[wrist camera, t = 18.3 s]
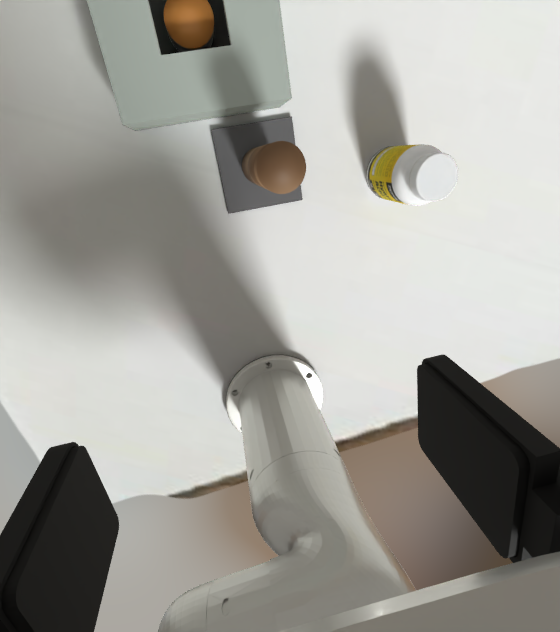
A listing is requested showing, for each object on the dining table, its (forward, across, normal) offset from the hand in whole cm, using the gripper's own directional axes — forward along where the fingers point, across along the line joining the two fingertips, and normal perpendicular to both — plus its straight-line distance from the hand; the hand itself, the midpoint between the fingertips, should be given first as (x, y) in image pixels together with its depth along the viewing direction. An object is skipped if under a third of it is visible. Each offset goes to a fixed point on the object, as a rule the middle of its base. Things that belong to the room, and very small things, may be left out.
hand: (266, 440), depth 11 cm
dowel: (+33, -5, -6) cm, 34 cm away
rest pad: (+33, -5, -6) cm, 34 cm away
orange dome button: (+33, -1, -18) cm, 38 cm away
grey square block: (+33, -1, -18) cm, 38 cm away
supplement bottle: (+34, -19, -3) cm, 39 cm away
